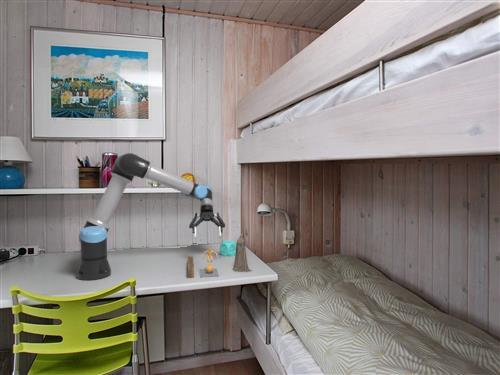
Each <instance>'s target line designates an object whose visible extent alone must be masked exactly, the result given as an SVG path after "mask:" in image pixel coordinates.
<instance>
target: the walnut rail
mask: <svg viewBox="0 0 500 375" xmlns="http://www.w3.org/2000/svg"><path fill="white" fill-rule="evenodd" d="M187 278H188V279H191V278H193V279H194V278H195V263H194V255H189V256H187Z"/></svg>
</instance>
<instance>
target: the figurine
mask: <svg viewBox="0 0 500 375" xmlns="http://www.w3.org/2000/svg"><path fill="white" fill-rule="evenodd" d="M206 253H207V257H206V261H207V266H206V267H205V269H206V272H207V273H212V272H213V270H214V269H215V268H214V266H213V264H212V262H213V257H214V256H213V255H212V254H213V253H214V254H215V255H216V258H217V259H219V256H218V254H217V252H216V251H214V250H212V249H211V248H209V249H207V250H206V251H204V252H203V253H202V255H201V259H203V257H204V255H205V254H206ZM209 260H210V261H209ZM209 262H210V263H209Z"/></svg>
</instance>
